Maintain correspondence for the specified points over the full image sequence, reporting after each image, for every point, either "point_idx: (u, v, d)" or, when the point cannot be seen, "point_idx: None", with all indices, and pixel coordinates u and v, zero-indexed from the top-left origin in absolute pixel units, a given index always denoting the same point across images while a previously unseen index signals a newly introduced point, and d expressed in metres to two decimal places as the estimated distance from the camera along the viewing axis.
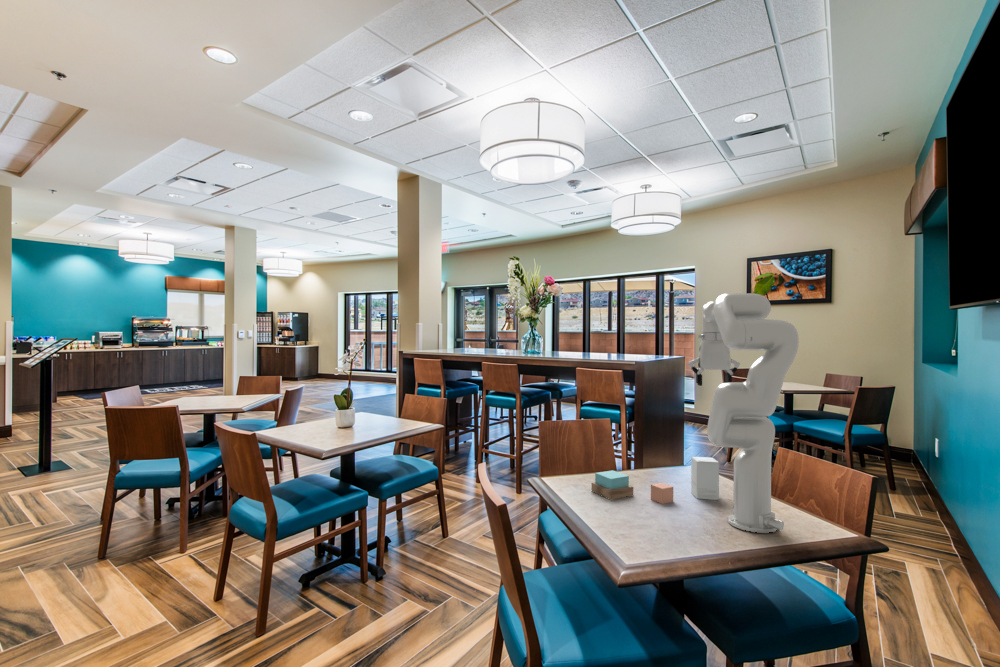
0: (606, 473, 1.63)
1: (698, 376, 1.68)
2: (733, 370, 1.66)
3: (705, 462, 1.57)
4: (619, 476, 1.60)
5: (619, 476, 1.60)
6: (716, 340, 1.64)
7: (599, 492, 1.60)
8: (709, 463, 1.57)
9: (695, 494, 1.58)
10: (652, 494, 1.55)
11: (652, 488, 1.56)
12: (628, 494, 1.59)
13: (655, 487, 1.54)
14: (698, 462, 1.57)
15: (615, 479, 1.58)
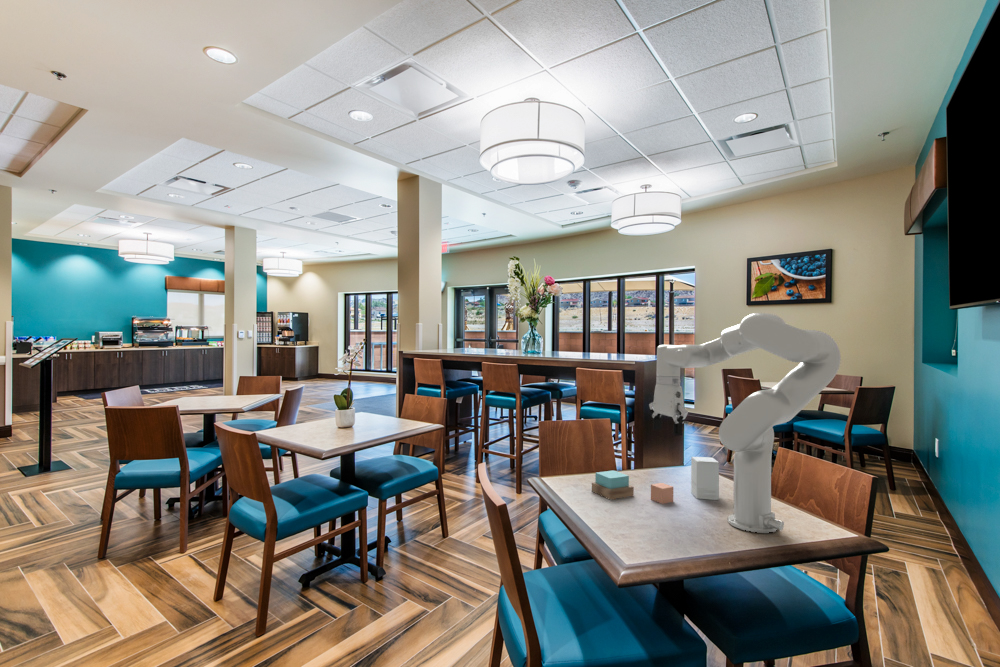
0: (606, 473, 1.64)
1: None
2: None
3: (705, 462, 1.57)
4: (619, 476, 1.60)
5: (619, 475, 1.61)
6: None
7: (599, 492, 1.60)
8: (709, 463, 1.57)
9: (695, 494, 1.58)
10: (652, 494, 1.55)
11: (652, 488, 1.56)
12: (628, 494, 1.59)
13: (655, 487, 1.54)
14: (698, 462, 1.57)
15: (615, 479, 1.58)
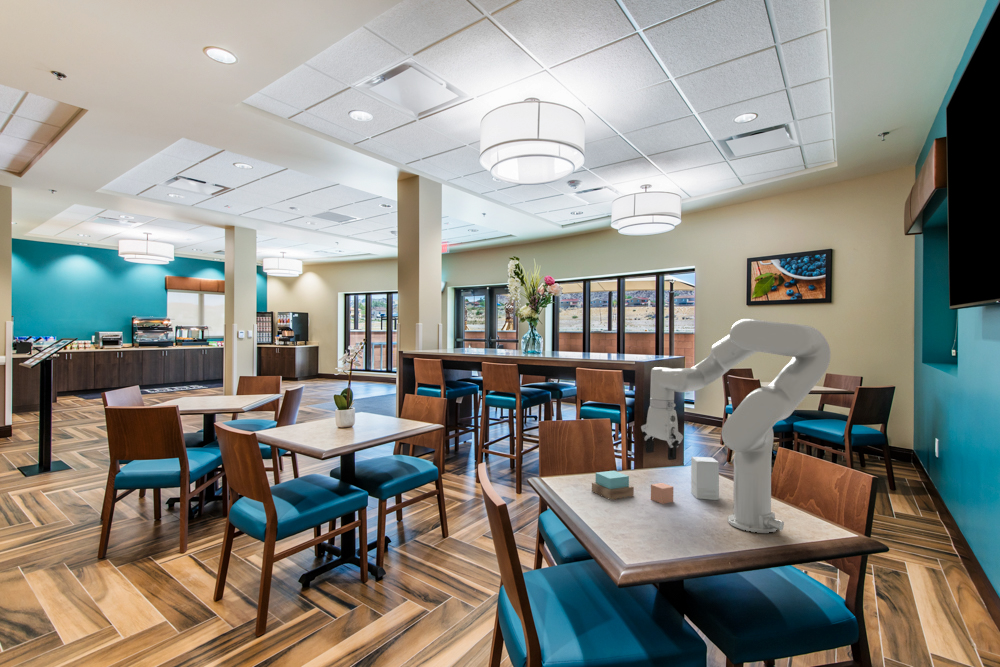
0: (606, 473, 1.63)
1: None
2: None
3: (705, 462, 1.57)
4: (619, 476, 1.60)
5: (620, 476, 1.60)
6: None
7: (599, 492, 1.60)
8: (709, 463, 1.57)
9: (695, 494, 1.58)
10: (652, 494, 1.55)
11: (652, 488, 1.56)
12: (628, 494, 1.59)
13: (655, 487, 1.54)
14: (698, 462, 1.57)
15: (615, 479, 1.58)
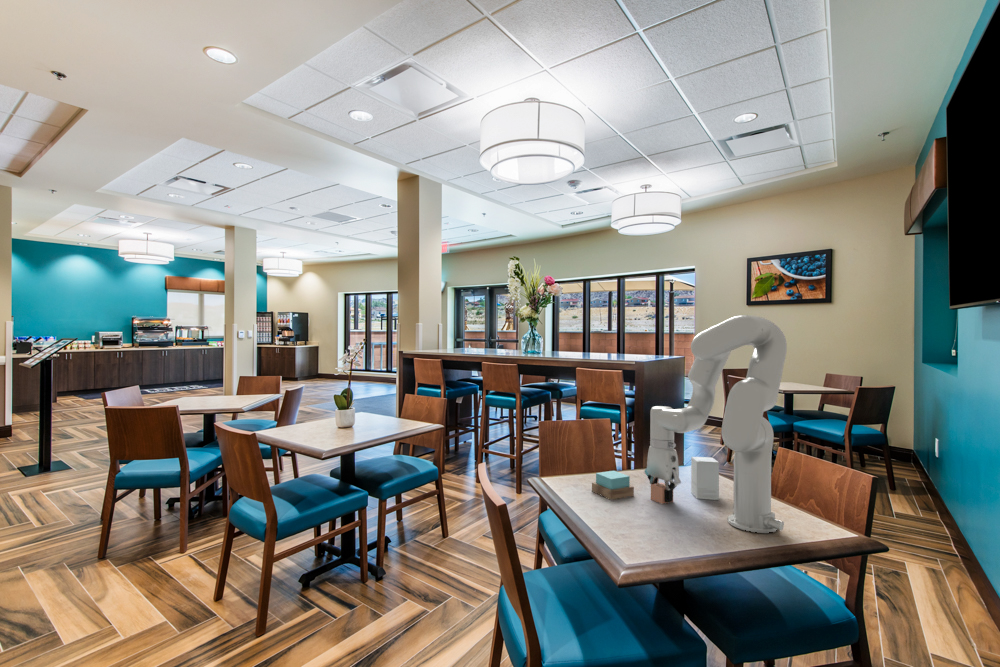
0: (607, 473, 1.63)
1: None
2: None
3: (705, 462, 1.57)
4: (620, 476, 1.60)
5: (620, 476, 1.60)
6: None
7: (599, 492, 1.60)
8: (709, 463, 1.57)
9: (695, 494, 1.58)
10: (652, 494, 1.56)
11: (652, 488, 1.56)
12: (628, 494, 1.59)
13: (655, 487, 1.54)
14: (698, 462, 1.57)
15: (616, 479, 1.57)
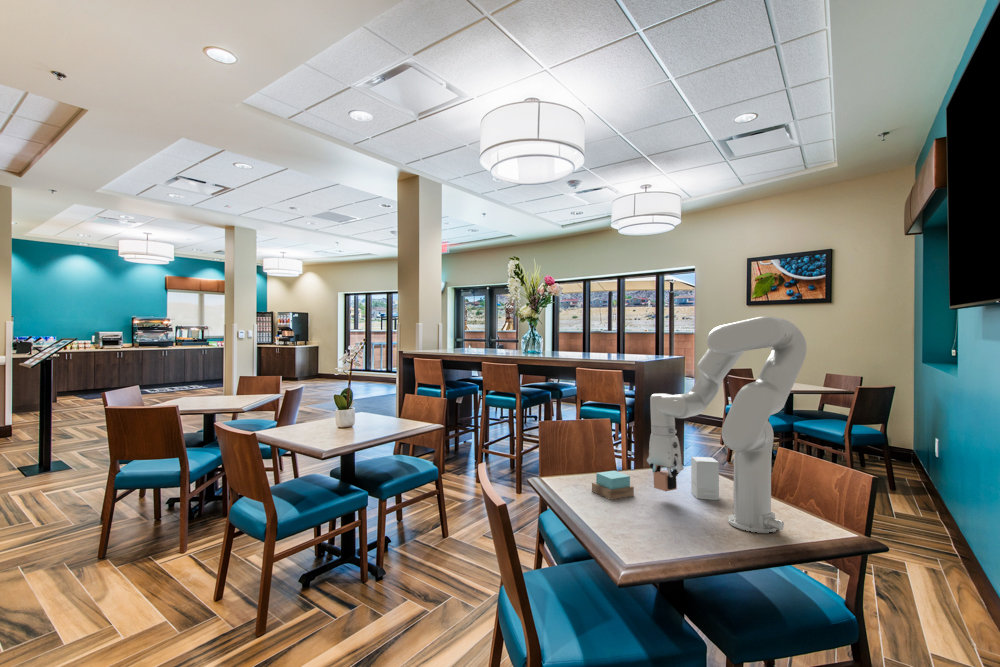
0: (607, 473, 1.63)
1: None
2: None
3: (705, 462, 1.57)
4: (620, 476, 1.60)
5: (621, 476, 1.60)
6: None
7: (599, 492, 1.60)
8: (709, 463, 1.57)
9: (695, 494, 1.58)
10: (655, 482, 1.55)
11: (655, 476, 1.55)
12: (628, 494, 1.59)
13: (658, 475, 1.54)
14: (698, 462, 1.57)
15: (616, 479, 1.57)
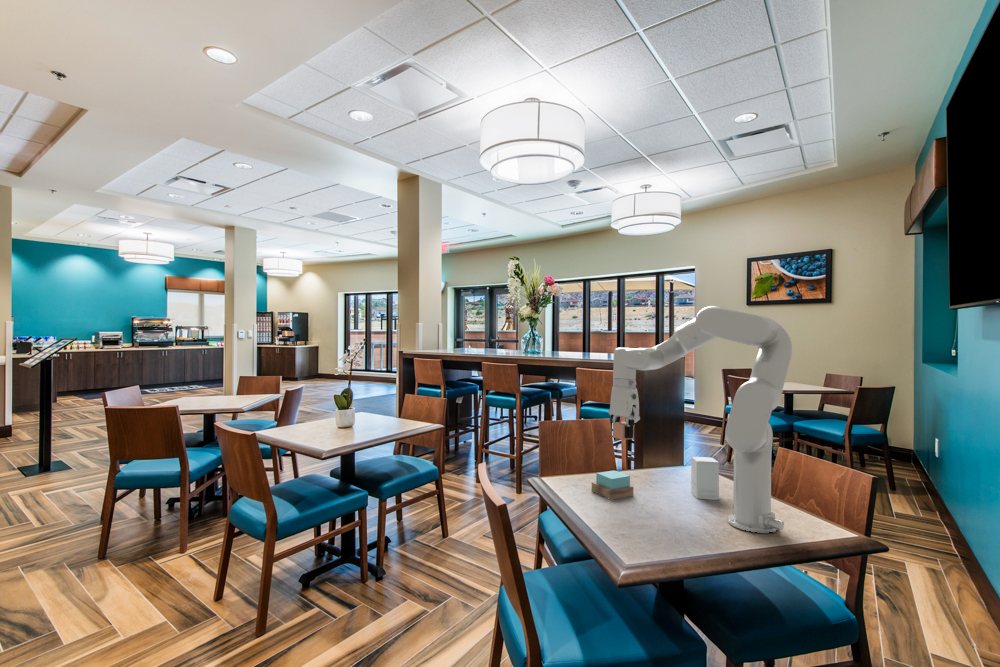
0: (607, 473, 1.63)
1: None
2: None
3: (705, 462, 1.57)
4: (620, 476, 1.59)
5: (621, 476, 1.60)
6: None
7: (599, 492, 1.60)
8: (709, 463, 1.57)
9: (695, 494, 1.58)
10: (614, 431, 1.61)
11: (614, 425, 1.61)
12: (628, 494, 1.59)
13: (616, 424, 1.60)
14: (698, 462, 1.57)
15: (616, 479, 1.57)
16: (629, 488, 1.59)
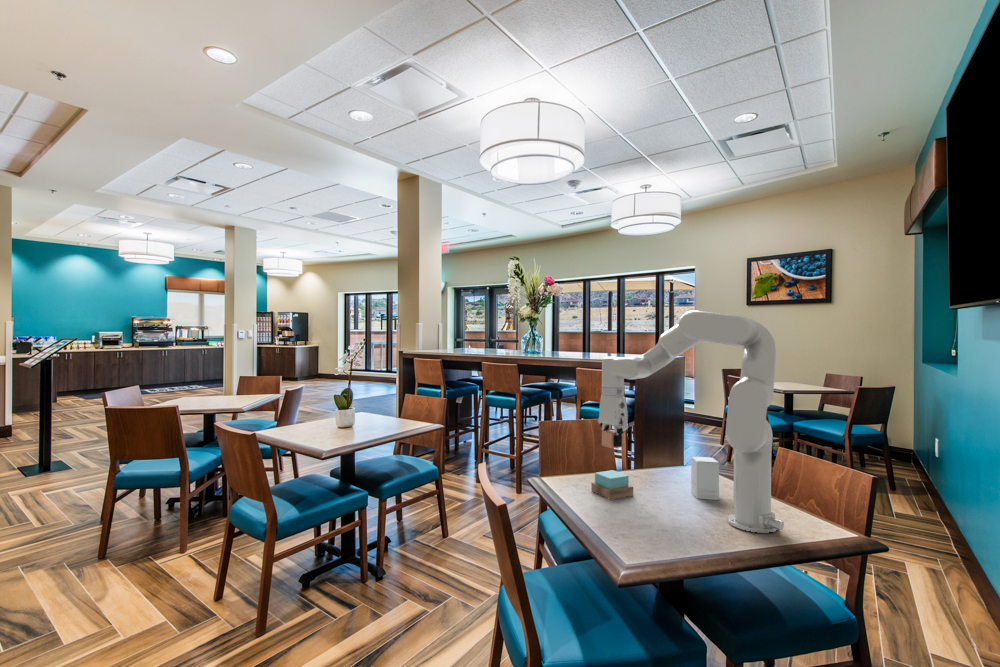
0: (606, 473, 1.63)
1: None
2: None
3: (705, 462, 1.57)
4: (619, 476, 1.60)
5: (619, 475, 1.60)
6: None
7: (599, 492, 1.60)
8: (709, 463, 1.57)
9: (695, 494, 1.58)
10: (603, 440, 1.63)
11: (603, 434, 1.63)
12: (628, 494, 1.59)
13: (605, 433, 1.62)
14: (698, 462, 1.57)
15: (615, 479, 1.58)
16: (629, 488, 1.59)
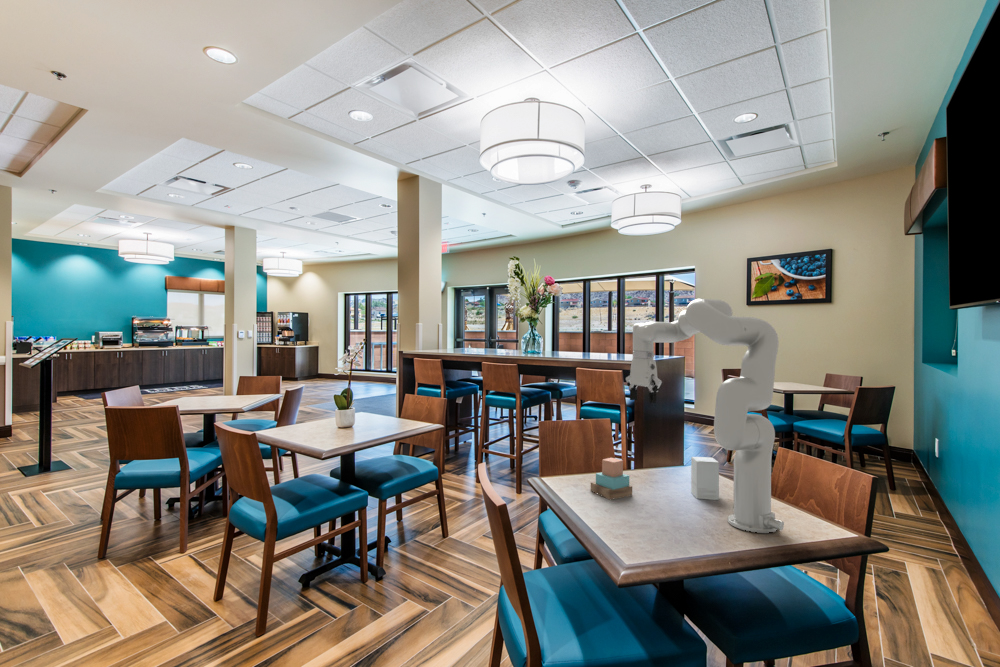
0: None
1: None
2: None
3: (705, 462, 1.57)
4: (620, 476, 1.60)
5: None
6: None
7: (598, 492, 1.60)
8: (709, 463, 1.57)
9: (695, 494, 1.58)
10: (603, 468, 1.62)
11: (603, 463, 1.62)
12: (627, 494, 1.59)
13: (606, 461, 1.61)
14: (698, 462, 1.57)
15: (617, 479, 1.58)
16: (628, 488, 1.59)
